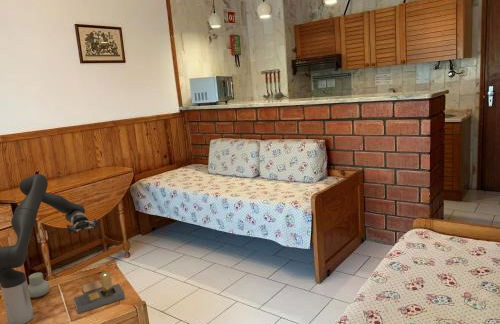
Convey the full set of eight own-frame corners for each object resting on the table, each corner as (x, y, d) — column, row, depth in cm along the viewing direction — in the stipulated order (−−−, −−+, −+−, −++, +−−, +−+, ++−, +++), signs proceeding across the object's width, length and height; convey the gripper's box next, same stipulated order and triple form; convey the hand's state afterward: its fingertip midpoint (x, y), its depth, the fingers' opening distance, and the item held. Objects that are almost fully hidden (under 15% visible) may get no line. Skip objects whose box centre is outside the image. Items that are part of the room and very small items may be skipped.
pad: (84, 296, 184) (84, 292, 184) (82, 289, 191) (81, 285, 190) (102, 290, 188) (102, 286, 188) (99, 284, 195) (98, 280, 194)
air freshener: (52, 294, 188) (48, 275, 186) (33, 301, 183) (29, 282, 181) (44, 287, 196) (41, 268, 194) (26, 294, 190) (22, 275, 188)
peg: (104, 301, 178) (100, 277, 176) (102, 297, 182) (99, 273, 179) (114, 298, 180) (111, 274, 178) (112, 294, 184) (108, 270, 182)
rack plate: (78, 313, 170) (76, 307, 169) (74, 303, 178) (73, 297, 177) (124, 298, 180) (124, 291, 179) (119, 289, 188) (118, 283, 187)
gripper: (63, 217, 200) (67, 226, 186) (93, 211, 207) (99, 219, 194) (66, 231, 202) (70, 241, 188) (95, 224, 209) (101, 233, 195)
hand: (85, 229), depth 191 cm, fingers open, 8 cm apart
